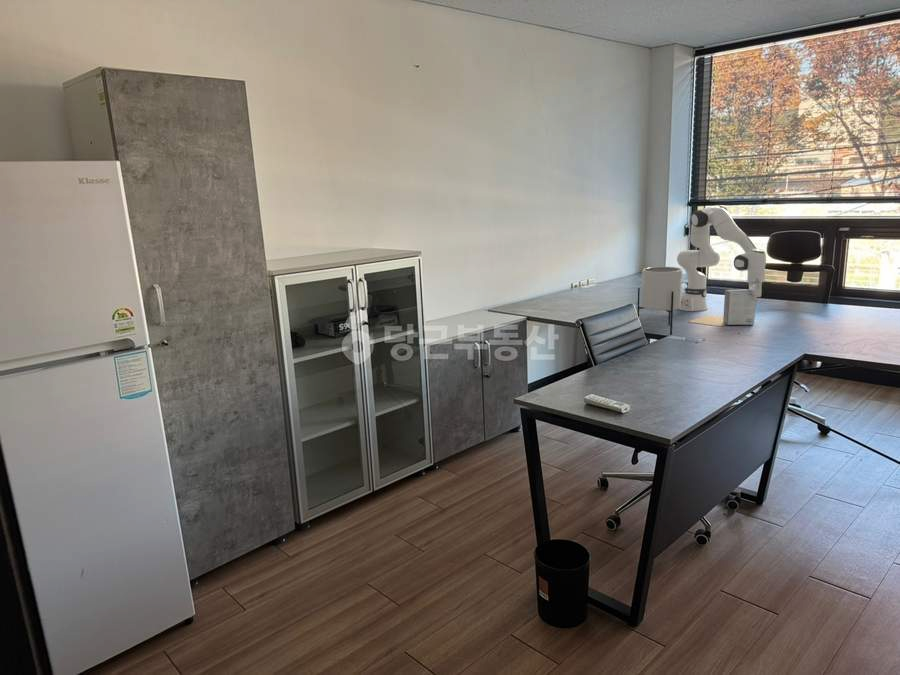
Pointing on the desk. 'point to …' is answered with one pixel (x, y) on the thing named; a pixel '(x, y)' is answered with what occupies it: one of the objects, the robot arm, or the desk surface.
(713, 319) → the cork mat
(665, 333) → the desk surface
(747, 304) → the hard drive box
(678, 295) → the plant pot with stand
